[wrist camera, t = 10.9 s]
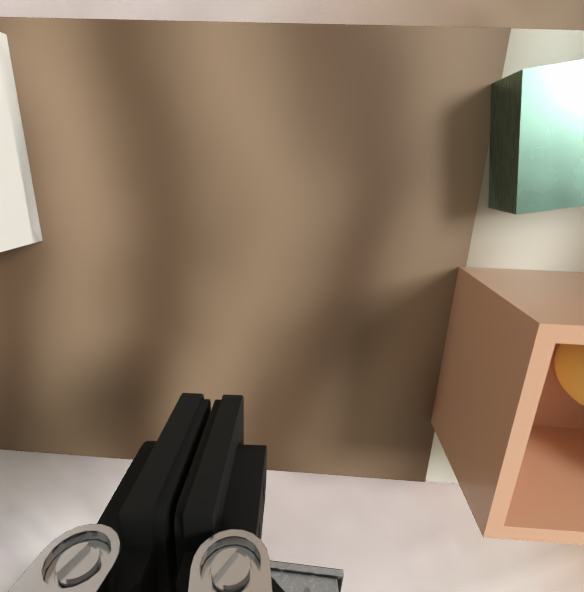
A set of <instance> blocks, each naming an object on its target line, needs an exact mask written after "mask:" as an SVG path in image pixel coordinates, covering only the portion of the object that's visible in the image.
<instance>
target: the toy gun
mask: <svg viewBox="0 0 584 592" xmlns="http://www.w3.org/2000/svg"><path fill="white" fill-rule="evenodd" d="M270 571H271V577H272V578H273V579H274V580H275V581H276V582H277V583H278V585H279V586H280V587H281V588H282V589H283V590H284V591H285V592H341V587H342V581H343V570H339V569H331V568H323V567H315V566H307V565H299V564H291V563H283V562H275V561H270Z"/></svg>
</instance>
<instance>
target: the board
mask: <svg viewBox="0 0 584 592" xmlns="http://www.w3.org/2000/svg"><path fill="white" fill-rule="evenodd" d="M0 32H1V33H4V34H6V35H7V41H8V47H9V52H10V58H11V64H12V70H13V75H14V81H15V87H16V92H17V98H18V104H19V109H20V115H21V121H22V127H23V132H24V138H25V144H26V149H27V155H28V161H29V166H30V172H31V178H32V183H33V189H34V195H35V201H36V206H37V212H38V218H39V223H40V229H41V235H42V240H43V241H39V242H36V243H32V244H29V245H25V246H21V247H18V248H14V249H10V250H7V251H3V252H0V449H3V450H16V451H29V452H42V453H55V454H68V455H81V456H94V457H107V458H120V459H133V460H134V458H135V456H136V454H137V453H138V451H139V449H140V447H141V446H142V445H143V443H144V442H146V441H157V440H158V438H159V436H160V434H161V432H162V430H163V428H164V426H165V425H166V423H167V421H168V419H169V417H170V415H171V413H172V411H173V409H174V407H175V405H176V404H177V402H178V400H179V398H180V396H181V394H182V393H200V394H203V395H204V399H210V401H211V409H212V407H213V404H214V401H215V400H216V399H218V400H221V399H222V396H223V395H224V394H225V395H243V397H244V445H267V470H277V471H290V472H303V473H316V474H329V475H342V476H355V477H368V478H381V479H394V480H407V481H420V482H425V481H431V482H444V483H457V484H459V483H458V481H457V478H456V476H455V474H454V472H453V470H452V467H451V465H450V463H449V461H448V459H447V456H446V454H445V452H444V450H443V448H442V445H441V443H440V441H439V439H438V437H437V434H436V432H435V430H434V428H433V426H432V423H431V419H432V413H433V408H434V402H435V397H436V391H437V386H438V380H439V375H440V369H441V363H442V358H443V352H444V347H445V341H446V336H447V330H448V325H449V319H450V314H451V308H452V303H453V297H454V291H455V286H456V280H457V275H458V269H459V267H477V268H498V269H520V270H542V271H563V272H584V206H580V207H572V208H565V209H557V210H549V211H541V212H533V213H525V214H517V215H516V214H512V213H507V212H503V211H499V210H495V209H491V208H488V204H489V160H490V116H491V84H492V83H494V82H496V81H498V80H500V79H503V78H505V77H507V76H509V75H511V74H513V73H516V72H518V71H520V70H522V69H527V68H533V67H540V66H546V65H552V64H558V63H564V62H571V61H577V60H583V59H584V30H549V29H511V28H482V27H437V26H391V25H345V24H300V23H254V22H208V21H162V20H117V19H71V18H25V17H0Z"/></svg>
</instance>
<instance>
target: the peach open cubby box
mask: <svg viewBox="0 0 584 592" xmlns="http://www.w3.org/2000/svg"><path fill="white" fill-rule="evenodd" d="M560 344H579V345H584V272H563V271H542V270H520V269H498V268H477V267H459V269H458V275H457V280H456V286H455V291H454V297H453V303H452V308H451V314H450V319H449V325H448V330H447V336H446V341H445V347H444V352H443V358H442V363H441V369H440V375H439V380H438V386H437V391H436V397H435V402H434V408H433V413H432V419H431V423H432V426H433V428H434V430H435V432H436V434H437V437H438V439H439V441H440V443H441V445H442V448H443V450H444V452H445V454H446V456H447V459H448V461H449V463H450V465H451V467H452V470H453V472H454V474H455V476H456V478H457V481H458V483H459V485H460V487H461V489H462V492H463V494H464V496H465V498H466V500H467V503H468V505H469V507H470V509H471V511H472V514H473V516H474V518H475V520H476V523H477V525H478V527H479V529H480V531H481V534H482V536H483V537H485V538H499V539H512V540H526V541H539V542H553V543H566V544H580V545H584V406H583V405H581V404H580V403H578V402H577V401H575V400H574V399H573V398H572V397H571V396H570V395H569V394H568V393H567V392H566V391H565V390H564V388H563V387H562V386H561V384H560V382H559V380H558V378H557V375H556V372H555V355H556V352H557V349H558V347H559V345H560Z"/></svg>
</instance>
